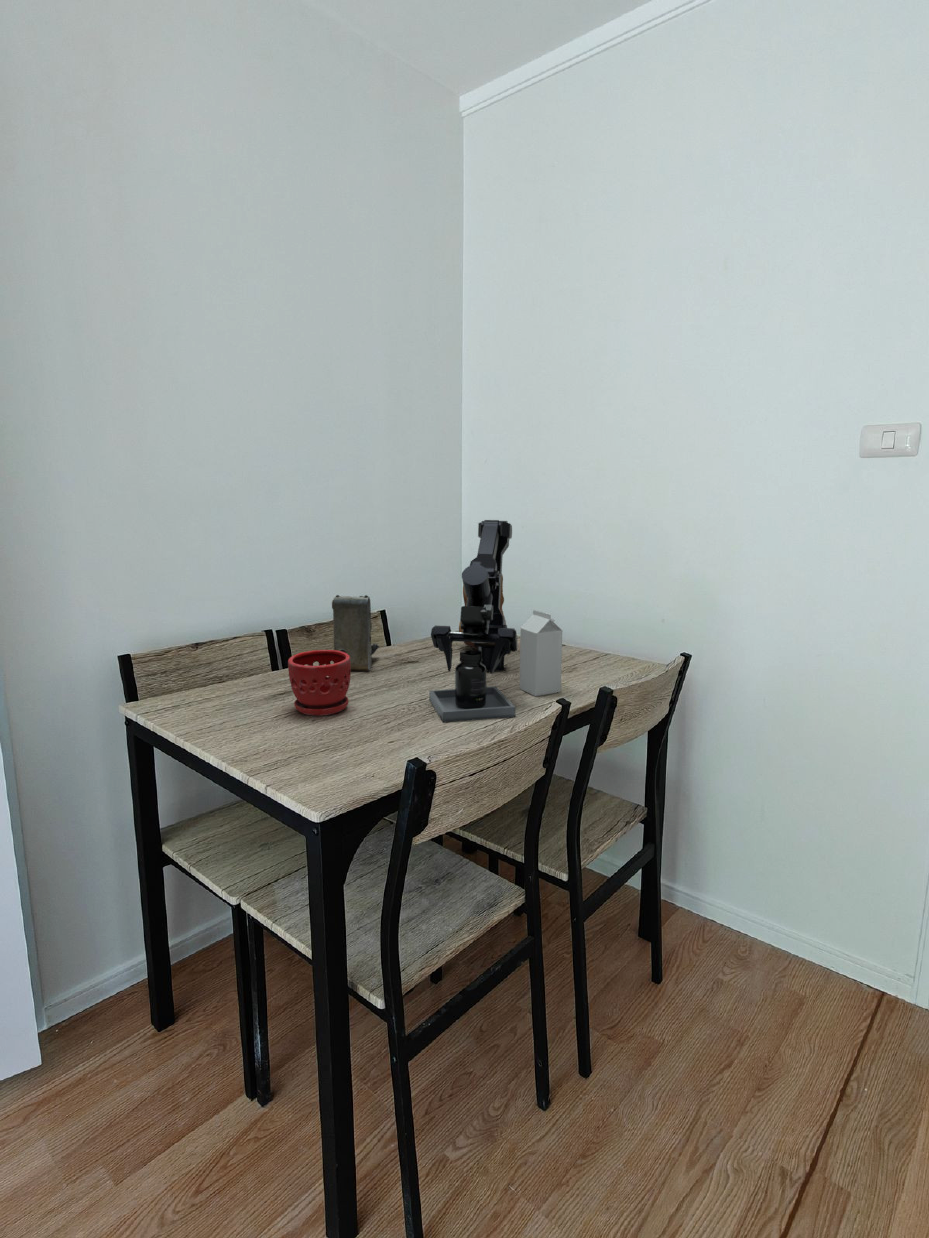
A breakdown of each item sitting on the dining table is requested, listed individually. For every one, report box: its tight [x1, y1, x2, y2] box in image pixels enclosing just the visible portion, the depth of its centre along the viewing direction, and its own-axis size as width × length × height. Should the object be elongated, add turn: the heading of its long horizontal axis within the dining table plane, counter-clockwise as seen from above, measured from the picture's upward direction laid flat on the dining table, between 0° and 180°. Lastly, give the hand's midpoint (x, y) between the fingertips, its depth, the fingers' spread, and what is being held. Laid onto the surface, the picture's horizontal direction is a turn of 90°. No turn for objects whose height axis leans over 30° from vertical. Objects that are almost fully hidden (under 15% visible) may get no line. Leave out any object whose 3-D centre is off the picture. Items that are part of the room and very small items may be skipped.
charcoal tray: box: [428, 685, 517, 723], centre depth 157 cm, size 16×16×2 cm
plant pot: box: [287, 649, 352, 717], centre depth 155 cm, size 13×13×12 cm
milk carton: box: [519, 609, 563, 697], centre depth 168 cm, size 7×7×19 cm
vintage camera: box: [331, 594, 380, 672], centre depth 192 cm, size 10×16×20 cm, turn 174°
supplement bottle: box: [454, 649, 487, 709], centre depth 156 cm, size 7×7×12 cm
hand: (469, 671), depth 155 cm, fingers open, 9 cm apart
